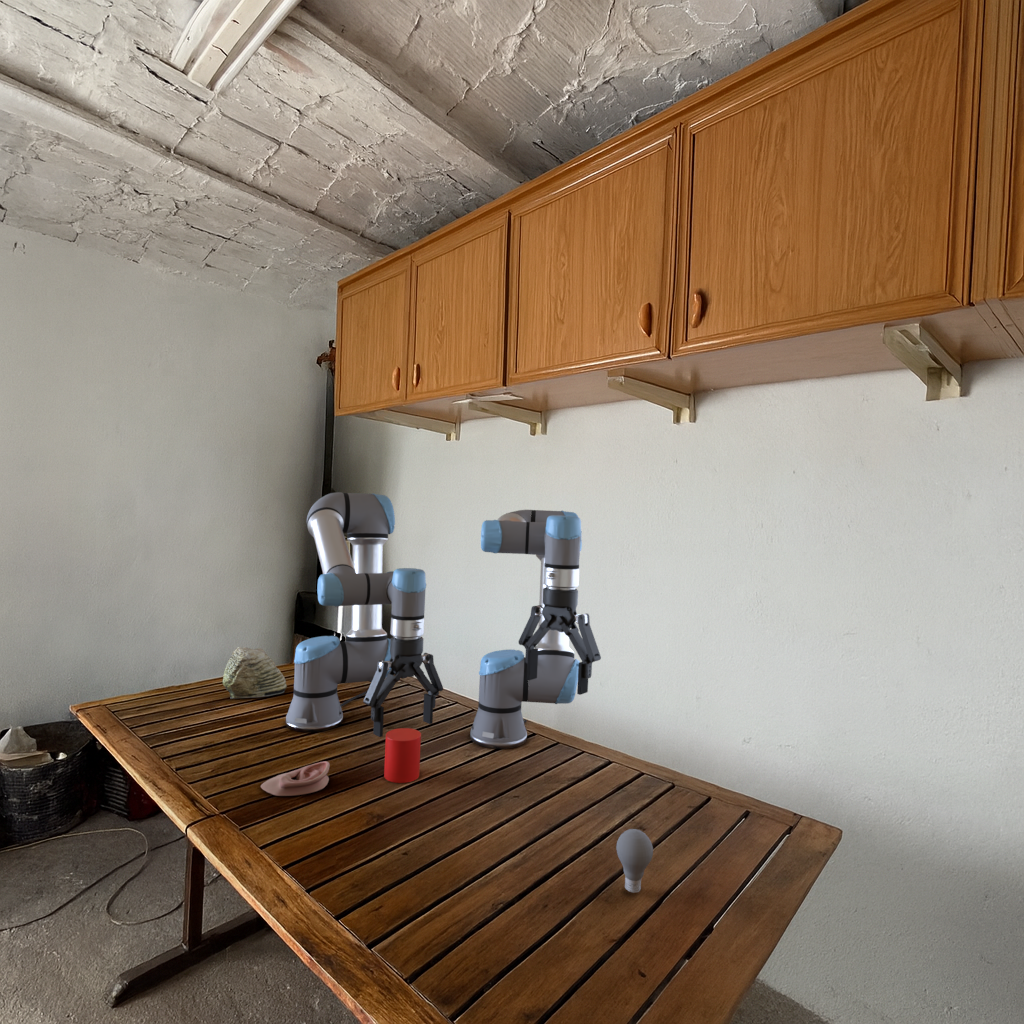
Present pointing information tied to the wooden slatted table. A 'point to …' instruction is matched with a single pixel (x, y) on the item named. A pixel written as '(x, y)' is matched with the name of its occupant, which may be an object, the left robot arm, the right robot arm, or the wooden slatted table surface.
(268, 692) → the fossil
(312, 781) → the anatomical model
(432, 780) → the wooden slatted table surface
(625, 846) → the light bulb
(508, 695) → the right robot arm
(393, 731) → the cylinder
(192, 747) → the wooden slatted table surface
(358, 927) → the wooden slatted table surface
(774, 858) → the wooden slatted table surface
